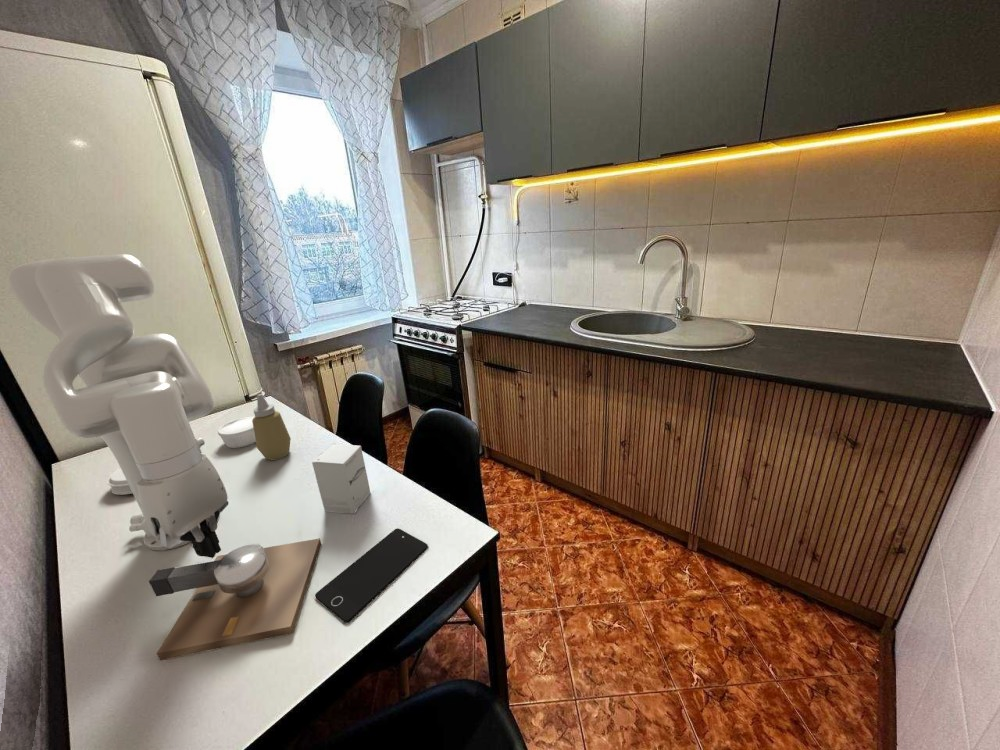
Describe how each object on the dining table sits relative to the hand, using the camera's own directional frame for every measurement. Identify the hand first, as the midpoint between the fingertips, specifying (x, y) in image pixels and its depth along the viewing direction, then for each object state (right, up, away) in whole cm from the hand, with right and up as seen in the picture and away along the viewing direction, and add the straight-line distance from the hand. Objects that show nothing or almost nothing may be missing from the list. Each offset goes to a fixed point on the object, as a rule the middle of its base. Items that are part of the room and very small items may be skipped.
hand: (210, 553), depth 67 cm
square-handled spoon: (+3, -3, -3) cm, 6 cm away
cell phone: (+28, -4, +2) cm, 28 cm away
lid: (-40, +3, +32) cm, 52 cm away
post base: (+8, -6, -1) cm, 10 cm away
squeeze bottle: (-11, +8, +40) cm, 43 cm away
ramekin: (-26, +11, +50) cm, 57 cm away
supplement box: (+16, +2, +20) cm, 26 cm away
